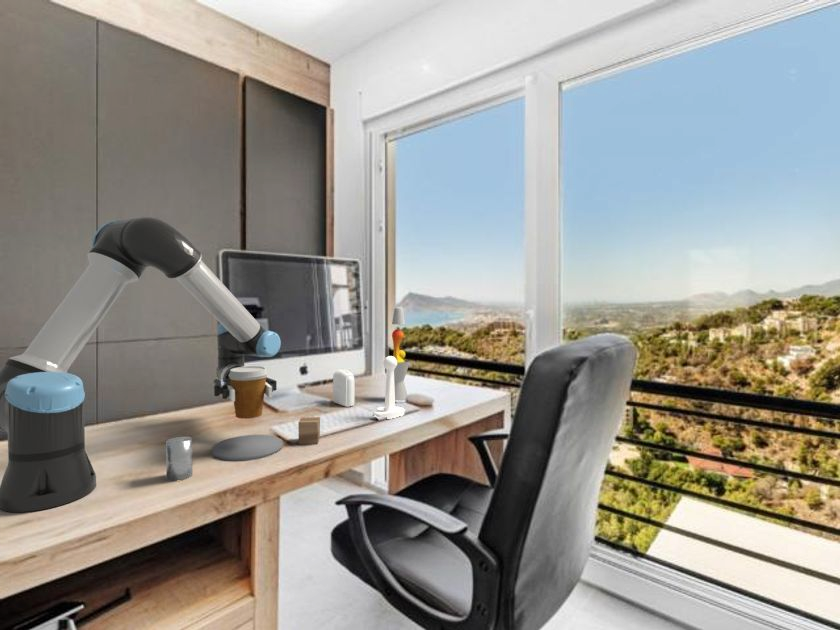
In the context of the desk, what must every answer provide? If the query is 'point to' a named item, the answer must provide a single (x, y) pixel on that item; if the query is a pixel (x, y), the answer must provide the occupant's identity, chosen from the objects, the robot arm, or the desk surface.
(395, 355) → the lava lamp
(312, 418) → the walnut block
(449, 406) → the desk surface
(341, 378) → the photo printer
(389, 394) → the joystick
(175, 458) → the chrome cylinder
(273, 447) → the round gray coaster
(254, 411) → the disposable coffee cup
